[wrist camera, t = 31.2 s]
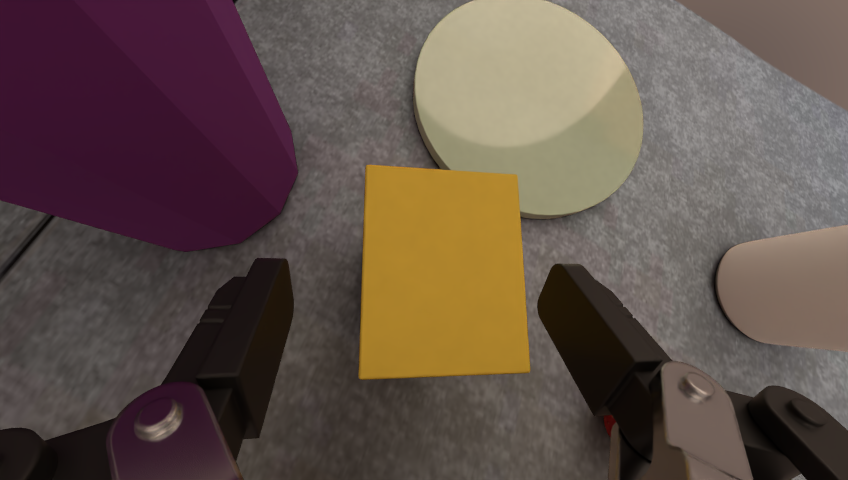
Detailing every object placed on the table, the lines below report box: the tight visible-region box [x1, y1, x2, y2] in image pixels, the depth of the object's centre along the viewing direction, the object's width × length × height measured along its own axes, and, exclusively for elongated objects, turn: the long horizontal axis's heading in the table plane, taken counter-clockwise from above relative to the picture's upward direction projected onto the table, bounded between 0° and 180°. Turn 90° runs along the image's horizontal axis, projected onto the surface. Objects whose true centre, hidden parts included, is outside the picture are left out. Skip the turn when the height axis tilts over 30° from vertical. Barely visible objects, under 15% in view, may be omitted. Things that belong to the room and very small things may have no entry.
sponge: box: [358, 165, 530, 380], centre depth 13 cm, size 4×5×10 cm
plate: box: [413, 0, 643, 219], centre depth 20 cm, size 15×15×1 cm
